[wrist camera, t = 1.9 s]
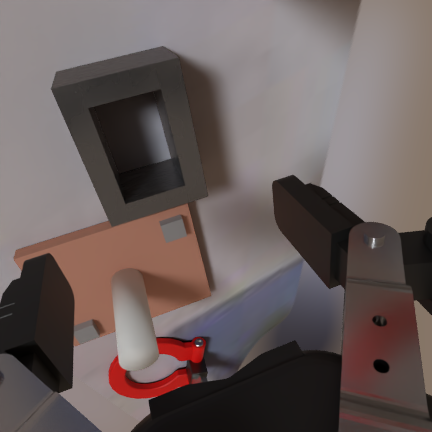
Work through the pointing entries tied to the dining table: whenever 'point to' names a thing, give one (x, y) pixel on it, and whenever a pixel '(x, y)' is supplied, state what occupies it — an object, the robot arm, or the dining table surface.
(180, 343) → the tow hook
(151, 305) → the keeper plate
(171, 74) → the grey hollow block
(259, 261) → the dining table surface
